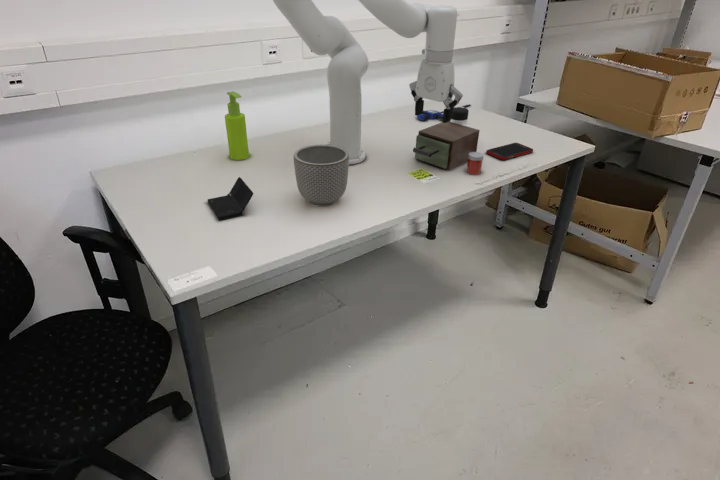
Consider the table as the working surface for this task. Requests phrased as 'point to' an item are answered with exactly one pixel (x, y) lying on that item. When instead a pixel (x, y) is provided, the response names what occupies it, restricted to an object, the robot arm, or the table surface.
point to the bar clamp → (432, 114)
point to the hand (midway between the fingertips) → (432, 118)
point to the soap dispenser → (236, 129)
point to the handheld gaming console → (232, 201)
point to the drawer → (432, 150)
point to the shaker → (474, 163)
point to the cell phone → (509, 151)
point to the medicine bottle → (460, 116)
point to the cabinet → (454, 140)
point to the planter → (321, 173)
